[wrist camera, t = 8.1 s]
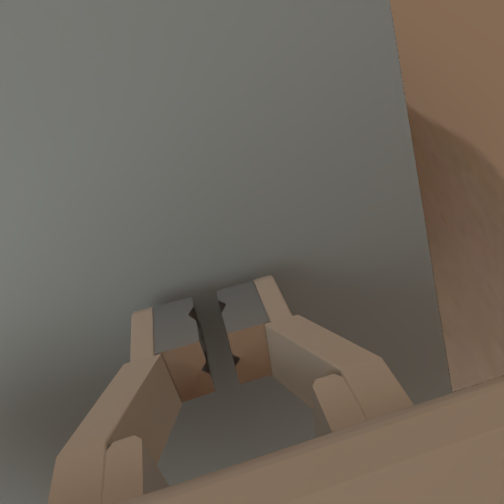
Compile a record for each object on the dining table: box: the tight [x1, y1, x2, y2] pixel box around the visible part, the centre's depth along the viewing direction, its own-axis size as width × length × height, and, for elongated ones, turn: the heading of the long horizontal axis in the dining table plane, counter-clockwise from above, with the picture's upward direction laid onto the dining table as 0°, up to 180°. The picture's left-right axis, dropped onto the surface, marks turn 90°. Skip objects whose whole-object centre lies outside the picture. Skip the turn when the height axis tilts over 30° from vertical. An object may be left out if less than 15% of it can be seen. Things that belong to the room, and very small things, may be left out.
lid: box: [0, 0, 452, 504], centre depth 10 cm, size 17×15×1 cm
